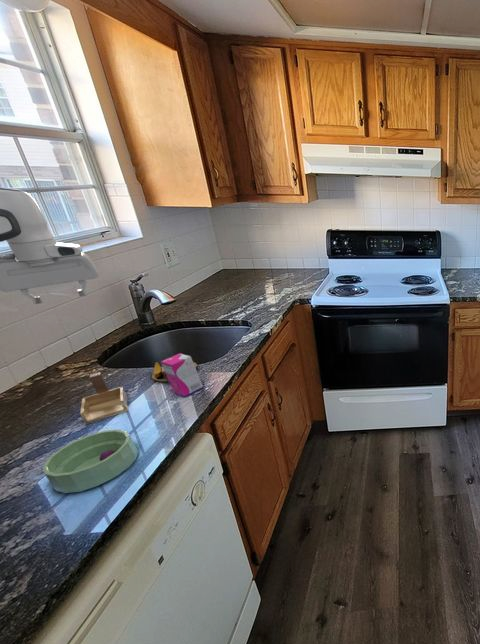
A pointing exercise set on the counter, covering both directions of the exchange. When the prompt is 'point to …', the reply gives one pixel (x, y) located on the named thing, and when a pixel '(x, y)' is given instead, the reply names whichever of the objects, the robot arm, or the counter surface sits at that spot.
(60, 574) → the counter surface
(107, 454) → the ball
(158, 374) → the toy sandwich meal
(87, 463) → the bowl
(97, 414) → the scoop
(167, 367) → the supplement box
